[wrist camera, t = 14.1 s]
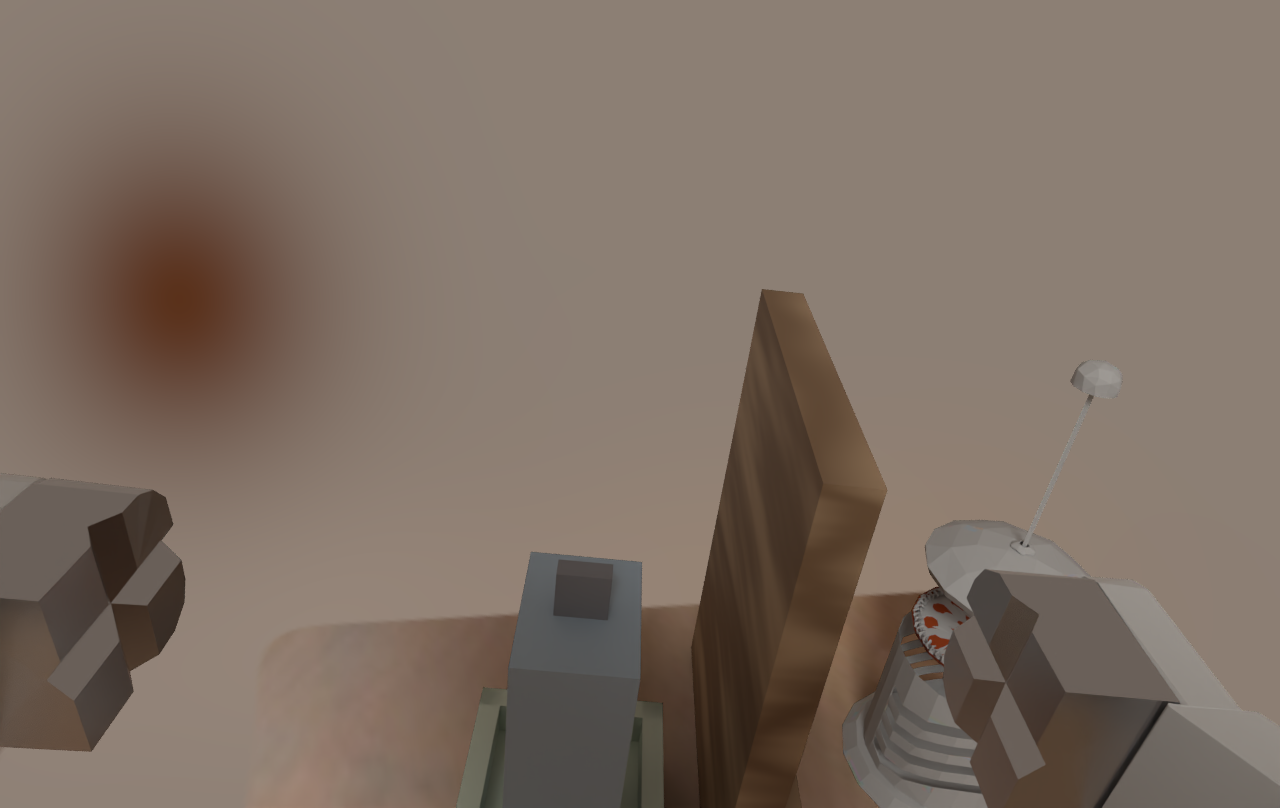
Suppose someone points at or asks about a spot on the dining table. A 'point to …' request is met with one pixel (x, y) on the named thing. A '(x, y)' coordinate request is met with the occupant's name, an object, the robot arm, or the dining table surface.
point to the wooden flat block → (779, 562)
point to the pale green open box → (487, 756)
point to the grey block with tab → (573, 683)
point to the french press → (918, 710)
